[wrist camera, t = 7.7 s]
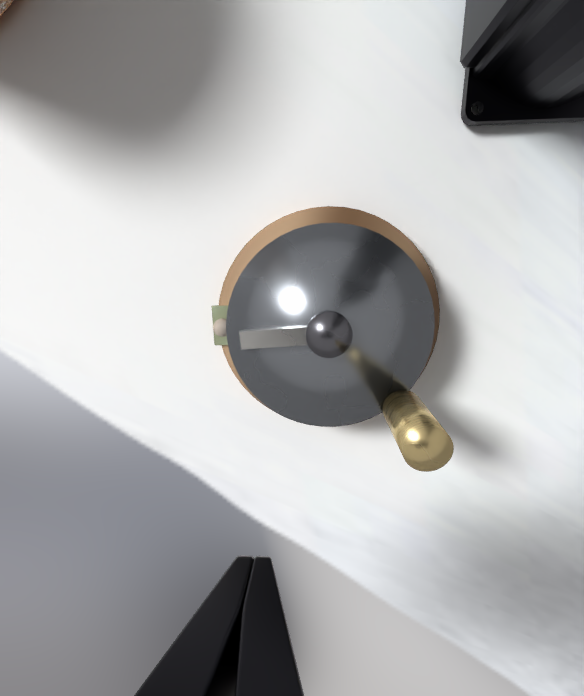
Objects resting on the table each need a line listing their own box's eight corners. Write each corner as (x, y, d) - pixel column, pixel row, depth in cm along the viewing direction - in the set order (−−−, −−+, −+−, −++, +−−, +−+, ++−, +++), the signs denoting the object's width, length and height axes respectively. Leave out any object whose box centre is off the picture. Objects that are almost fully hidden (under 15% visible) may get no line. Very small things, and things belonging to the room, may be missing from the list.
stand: (444, 206, 15) (462, 198, 14) (423, 419, 18) (436, 436, 16) (210, 211, 16) (197, 205, 14) (225, 416, 19) (216, 433, 17)
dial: (221, 236, 15) (180, 224, 10) (425, 216, 14) (481, 194, 10) (245, 419, 17) (220, 478, 13) (422, 411, 17) (466, 470, 12)
